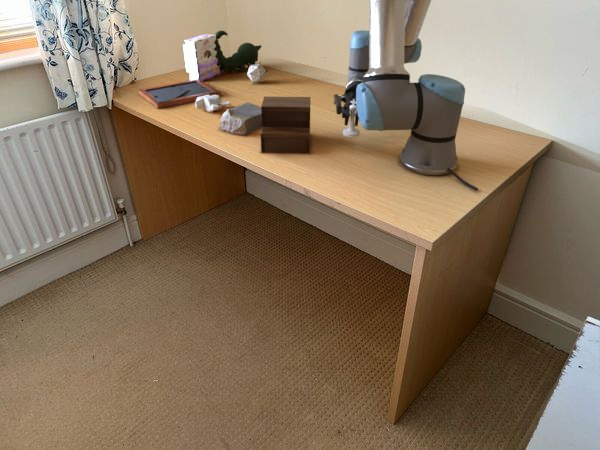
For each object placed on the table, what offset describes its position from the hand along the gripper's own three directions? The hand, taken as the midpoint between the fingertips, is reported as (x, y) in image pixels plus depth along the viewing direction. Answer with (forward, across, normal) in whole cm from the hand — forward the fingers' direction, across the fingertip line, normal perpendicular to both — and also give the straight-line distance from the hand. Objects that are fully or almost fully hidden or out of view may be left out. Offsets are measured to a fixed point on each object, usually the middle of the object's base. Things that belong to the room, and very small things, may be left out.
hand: (351, 120), depth 116 cm
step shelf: (-8, +19, -12) cm, 24 cm away
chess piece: (-6, 0, -6) cm, 8 cm away
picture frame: (-45, +69, -12) cm, 84 cm away
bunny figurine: (-31, +51, -12) cm, 61 cm away
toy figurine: (-83, +56, -13) cm, 101 cm away
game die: (-66, +44, -13) cm, 80 cm away
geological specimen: (-19, +35, -12) cm, 41 cm away
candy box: (-69, +68, -13) cm, 98 cm away
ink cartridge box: (-77, +74, -13) cm, 107 cm away
